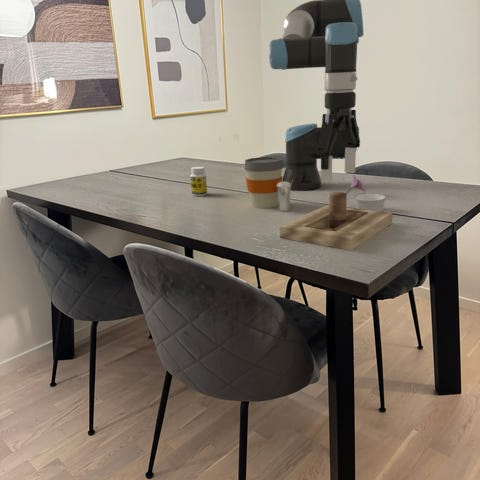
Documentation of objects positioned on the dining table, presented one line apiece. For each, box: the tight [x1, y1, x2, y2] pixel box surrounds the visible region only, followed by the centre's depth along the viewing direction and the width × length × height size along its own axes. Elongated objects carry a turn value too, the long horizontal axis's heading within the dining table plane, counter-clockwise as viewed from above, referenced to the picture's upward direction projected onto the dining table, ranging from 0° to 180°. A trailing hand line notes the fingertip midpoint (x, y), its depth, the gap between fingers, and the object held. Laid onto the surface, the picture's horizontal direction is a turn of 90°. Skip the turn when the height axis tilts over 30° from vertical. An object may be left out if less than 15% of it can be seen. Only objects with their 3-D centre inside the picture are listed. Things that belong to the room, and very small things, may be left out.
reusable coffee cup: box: [244, 156, 284, 209], centre depth 157 cm, size 13×13×15 cm
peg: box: [328, 191, 348, 229], centre depth 127 cm, size 4×4×10 cm
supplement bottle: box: [190, 166, 208, 197], centre depth 178 cm, size 6×6×10 cm
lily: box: [345, 172, 367, 195], centre depth 165 cm, size 12×12×10 cm
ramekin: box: [355, 193, 386, 212], centre depth 146 cm, size 9×9×4 cm
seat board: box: [279, 204, 393, 251], centre depth 128 cm, size 20×26×3 cm
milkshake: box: [277, 180, 293, 212], centre depth 150 cm, size 4×5×10 cm
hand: (338, 176), depth 124 cm, fingers open, 13 cm apart
